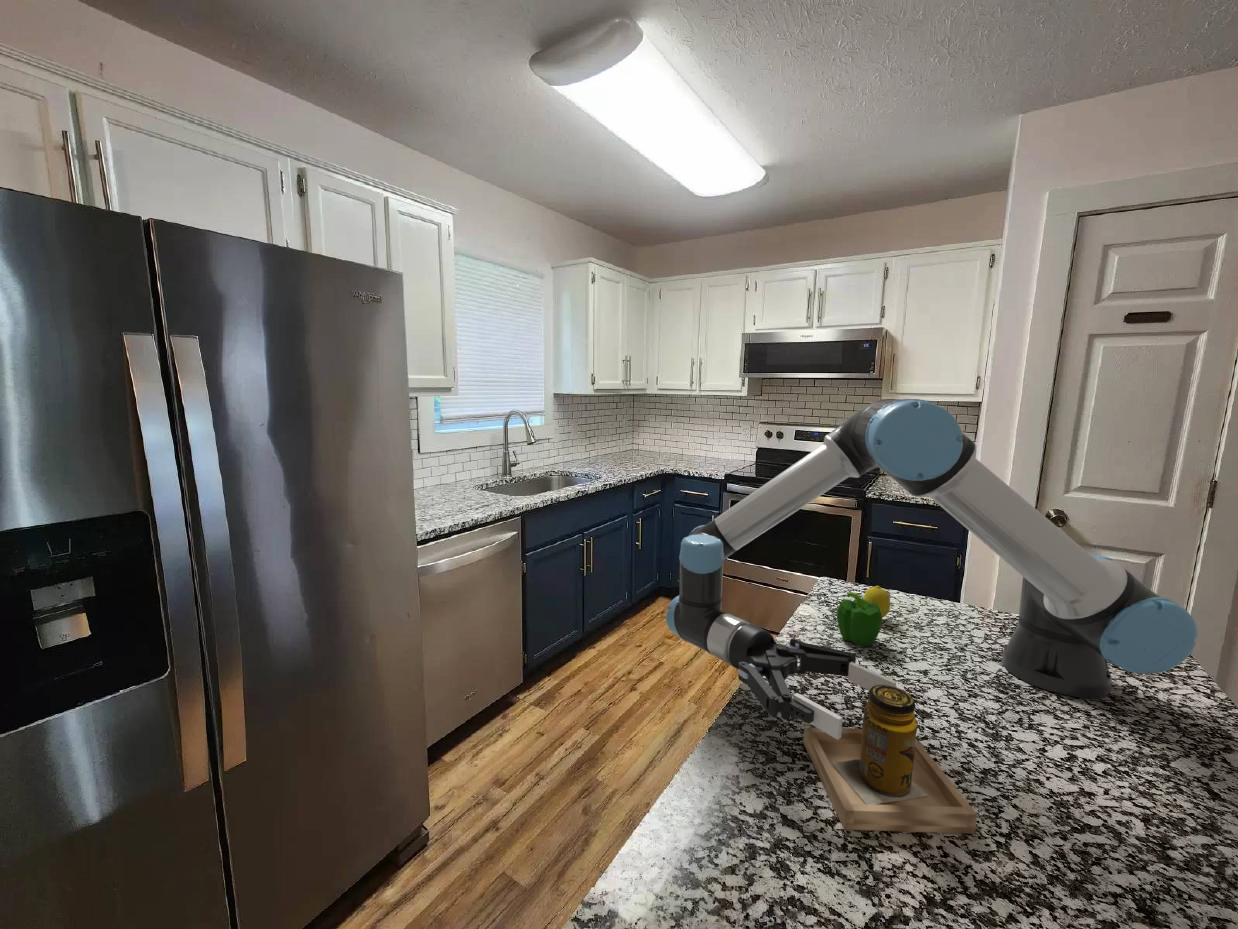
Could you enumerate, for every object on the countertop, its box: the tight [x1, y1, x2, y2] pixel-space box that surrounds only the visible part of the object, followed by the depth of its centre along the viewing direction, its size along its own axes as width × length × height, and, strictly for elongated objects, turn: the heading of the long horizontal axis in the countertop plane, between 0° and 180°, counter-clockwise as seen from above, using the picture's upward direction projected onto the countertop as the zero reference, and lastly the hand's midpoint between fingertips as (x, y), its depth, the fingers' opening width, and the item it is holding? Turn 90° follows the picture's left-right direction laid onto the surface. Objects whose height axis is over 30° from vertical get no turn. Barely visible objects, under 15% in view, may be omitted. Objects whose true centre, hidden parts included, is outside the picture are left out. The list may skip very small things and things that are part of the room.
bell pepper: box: [836, 591, 883, 647], centre depth 106 cm, size 8×8×10 cm
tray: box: [802, 726, 978, 835], centre depth 67 cm, size 15×15×2 cm
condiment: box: [833, 685, 927, 805], centre depth 66 cm, size 7×8×12 cm
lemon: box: [862, 585, 891, 619], centre depth 116 cm, size 6×6×8 cm
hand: (869, 709), depth 67 cm, fingers open, 13 cm apart
